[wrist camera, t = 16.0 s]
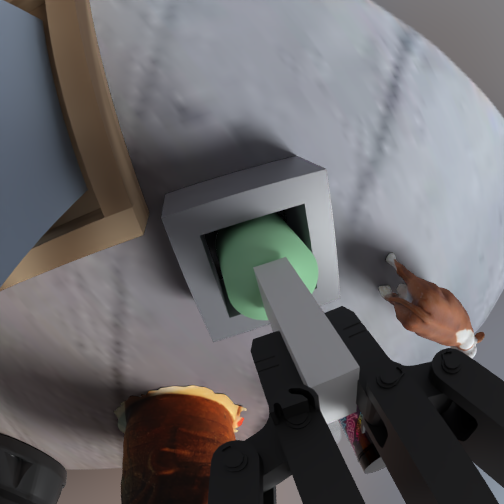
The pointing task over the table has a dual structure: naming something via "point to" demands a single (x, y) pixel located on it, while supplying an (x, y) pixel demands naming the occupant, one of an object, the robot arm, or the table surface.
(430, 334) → the bull figurine
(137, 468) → the vessel
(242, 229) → the button
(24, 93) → the seated box
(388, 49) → the table surface
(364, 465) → the supplement container
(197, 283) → the gray square button housing
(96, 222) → the wooden tray
